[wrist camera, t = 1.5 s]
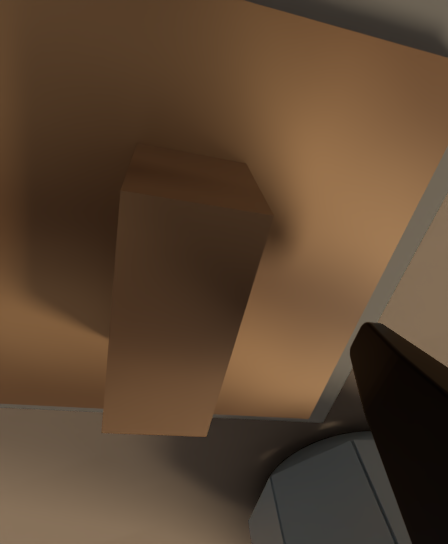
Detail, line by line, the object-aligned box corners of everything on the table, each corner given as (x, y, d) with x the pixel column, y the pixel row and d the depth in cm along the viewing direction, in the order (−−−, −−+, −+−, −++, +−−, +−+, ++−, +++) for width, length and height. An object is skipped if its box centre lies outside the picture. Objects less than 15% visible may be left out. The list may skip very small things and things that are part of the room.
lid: (301, 397, 15) (337, 501, 12) (-29, 376, 13) (-103, 500, 9) (458, 65, 9) (623, 84, 6) (-115, -94, 7) (-408, -223, 3)
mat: (318, 411, 17) (322, 423, 16) (-62, 390, 14) (-71, 403, 13) (527, 9, 9) (548, 8, 9) (-219, -236, 6) (-255, -261, 6)
